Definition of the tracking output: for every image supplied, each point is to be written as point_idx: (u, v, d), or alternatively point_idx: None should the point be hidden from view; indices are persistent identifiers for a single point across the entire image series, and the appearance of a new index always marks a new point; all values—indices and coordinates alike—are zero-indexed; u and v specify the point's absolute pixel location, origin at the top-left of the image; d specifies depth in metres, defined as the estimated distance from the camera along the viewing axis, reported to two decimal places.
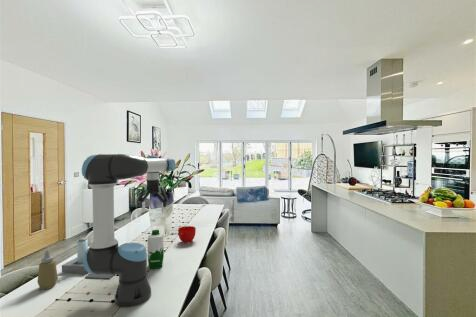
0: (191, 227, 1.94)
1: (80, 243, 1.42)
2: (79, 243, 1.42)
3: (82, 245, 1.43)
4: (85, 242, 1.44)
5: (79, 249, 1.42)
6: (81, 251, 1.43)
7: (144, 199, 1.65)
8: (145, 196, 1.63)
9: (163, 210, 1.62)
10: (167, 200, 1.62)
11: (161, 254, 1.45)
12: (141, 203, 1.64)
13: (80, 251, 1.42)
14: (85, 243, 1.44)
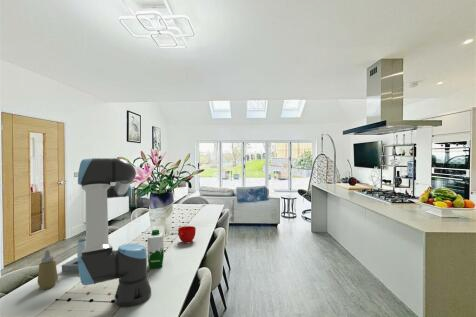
0: (191, 227, 1.94)
1: (80, 243, 1.42)
2: (79, 243, 1.42)
3: (82, 245, 1.43)
4: (85, 242, 1.44)
5: (79, 249, 1.42)
6: (81, 251, 1.43)
7: None
8: None
9: None
10: None
11: (161, 254, 1.45)
12: None
13: (80, 251, 1.42)
14: (85, 243, 1.44)
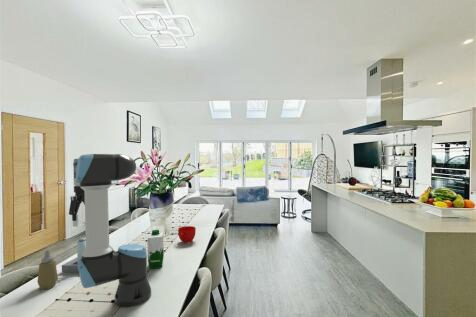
0: (191, 227, 1.94)
1: (80, 243, 1.42)
2: (79, 243, 1.42)
3: (82, 245, 1.43)
4: (85, 242, 1.44)
5: (79, 249, 1.42)
6: (81, 251, 1.43)
7: None
8: (84, 204, 1.49)
9: (74, 224, 1.40)
10: (69, 214, 1.37)
11: (161, 254, 1.45)
12: None
13: (80, 251, 1.42)
14: (85, 243, 1.44)
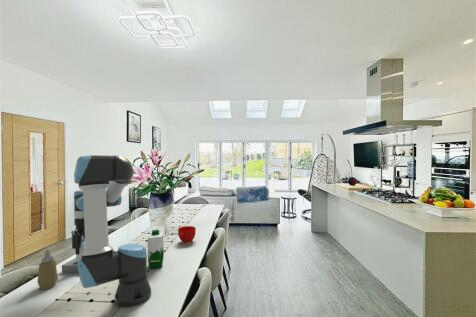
0: (191, 227, 1.94)
1: None
2: None
3: (82, 245, 1.43)
4: None
5: None
6: (81, 251, 1.43)
7: None
8: None
9: (77, 257, 1.42)
10: (73, 248, 1.39)
11: (161, 254, 1.45)
12: None
13: None
14: None
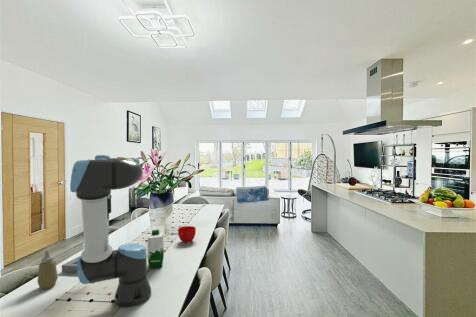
0: (191, 227, 1.94)
1: None
2: None
3: None
4: None
5: None
6: None
7: None
8: None
9: None
10: (107, 213, 1.35)
11: (161, 254, 1.45)
12: None
13: None
14: None
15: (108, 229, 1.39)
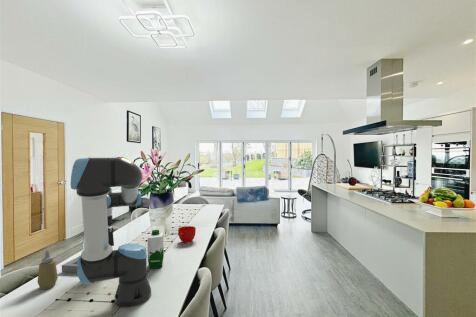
0: (191, 227, 1.94)
1: None
2: None
3: None
4: None
5: None
6: None
7: None
8: None
9: None
10: (110, 246, 1.34)
11: (161, 254, 1.45)
12: None
13: None
14: None
15: None
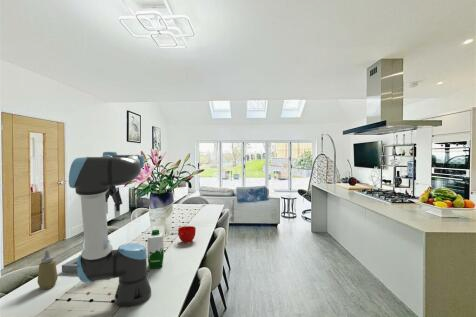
0: (191, 227, 1.94)
1: None
2: None
3: None
4: None
5: None
6: None
7: (105, 200, 1.49)
8: (104, 197, 1.47)
9: (116, 214, 1.41)
10: (119, 203, 1.39)
11: (161, 254, 1.45)
12: None
13: None
14: (110, 243, 1.41)
15: None
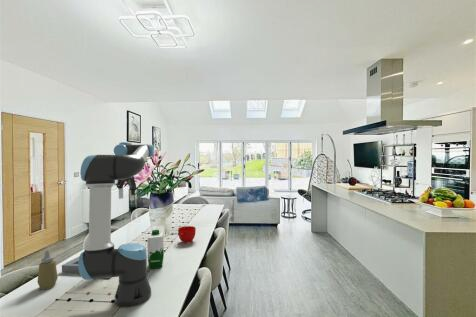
0: (191, 227, 1.94)
1: None
2: None
3: None
4: None
5: None
6: None
7: (121, 186, 1.66)
8: (120, 183, 1.64)
9: (131, 198, 1.57)
10: (134, 188, 1.55)
11: (161, 254, 1.45)
12: (119, 190, 1.66)
13: None
14: None
15: None
